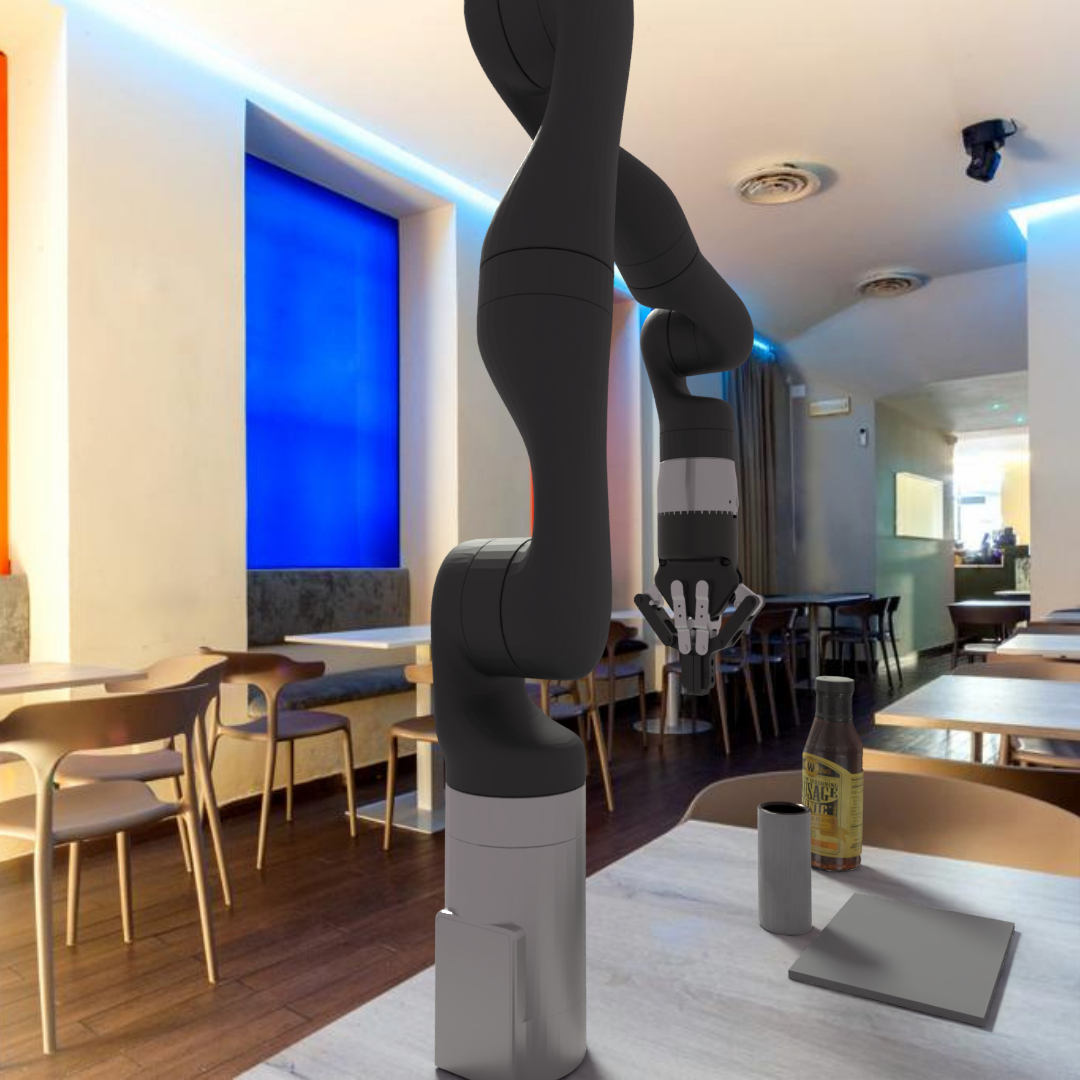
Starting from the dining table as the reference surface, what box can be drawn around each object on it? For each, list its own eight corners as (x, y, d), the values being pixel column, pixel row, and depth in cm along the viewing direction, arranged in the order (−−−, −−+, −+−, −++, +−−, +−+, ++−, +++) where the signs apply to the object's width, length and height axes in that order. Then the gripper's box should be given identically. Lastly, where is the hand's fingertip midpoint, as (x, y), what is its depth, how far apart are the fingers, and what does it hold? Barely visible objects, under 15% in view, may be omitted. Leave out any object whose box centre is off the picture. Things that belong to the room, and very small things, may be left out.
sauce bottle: (788, 859, 96) (786, 675, 97) (833, 852, 99) (830, 673, 100) (832, 878, 90) (829, 682, 91) (878, 870, 93) (875, 679, 94)
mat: (984, 1027, 61) (983, 1018, 61) (788, 977, 68) (788, 969, 68) (1014, 929, 77) (1014, 922, 77) (854, 898, 85) (854, 892, 85)
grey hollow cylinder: (806, 916, 80) (804, 801, 81) (816, 936, 76) (815, 814, 76) (755, 914, 81) (754, 800, 81) (762, 934, 76) (761, 813, 77)
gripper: (616, 510, 85) (617, 693, 84) (750, 504, 77) (752, 704, 77) (651, 514, 91) (652, 685, 90) (778, 509, 84) (780, 694, 83)
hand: (698, 693), depth 83 cm, fingers closed
